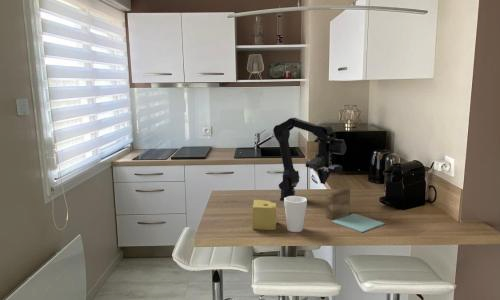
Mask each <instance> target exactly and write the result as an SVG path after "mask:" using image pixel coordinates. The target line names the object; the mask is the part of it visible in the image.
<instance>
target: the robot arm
mask: <svg viewBox="0 0 500 300" xmlns="http://www.w3.org/2000/svg"><path fill="white" fill-rule="evenodd" d="M294 128H297V129H300V130H303V131H306V132H308V133H312V134H313V135H314V136H315V137H316V139H314V141H313V142H314V143H318V144H317V153H316V154H315V157H314V158H312V159H311V160H306V162H305V167H306V168H309V169H311V170H313V171H315V172H316V173H317V176H318V178H319V182H320V184H323V185H325V184H326V183H327V181H328V179H329V177H330V176H331V174H337V173H343V167H342V165H340V164H332V162H331V161H330V159H331V157H332V155H333V154H335V155H345V154H346V152H347V144H346V142H345V139H338V138H337V136H336V135H335V132H334V131H333V128H332V126H331V125H328V124H327V125H326V124H316V123H312V122H309V121H305V120H303V119H299V118H297V117H290V118H288V119H287V120H285V121H283V122H281V123H280V124H276V125H275V126H274V127H273V129H272V132H273V136H274V139H276V141H277V142H278V144H279V145H278V146H279V150H280V154H281V155H280V156H281V161H282V165H283V172H282V181H281V182H280V183H279V184H278V189H279V190H280V198H279V201H283V202H284V198H286V197H289V196H296V191H295V188H296V187H297V185H298V184H299V182H300V179H301V177H300V175H299V174H300V172H299V170H296V169H295V168H294V165H293V163H294V162H293V158H292V153H291V148H290V143H289V139H290V136H291V134H290V133H291V132H290V131H291V130H293V129H294Z"/></svg>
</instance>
